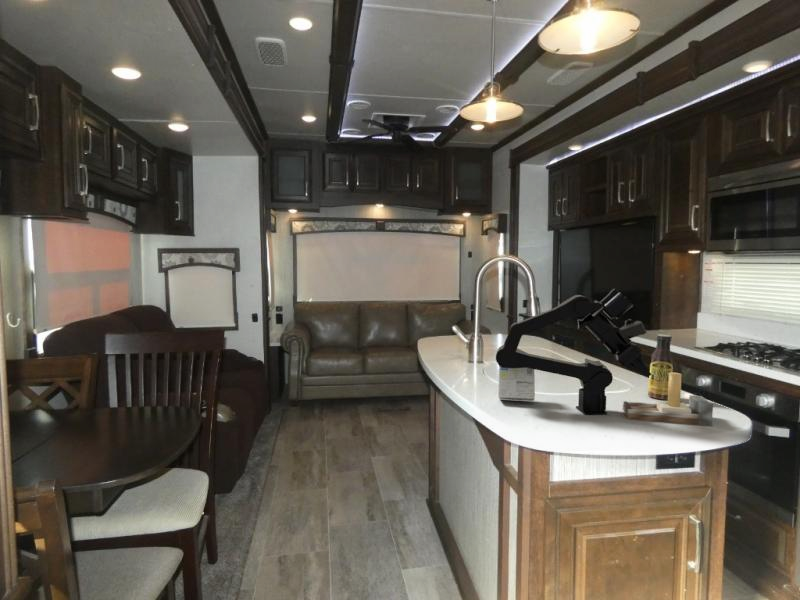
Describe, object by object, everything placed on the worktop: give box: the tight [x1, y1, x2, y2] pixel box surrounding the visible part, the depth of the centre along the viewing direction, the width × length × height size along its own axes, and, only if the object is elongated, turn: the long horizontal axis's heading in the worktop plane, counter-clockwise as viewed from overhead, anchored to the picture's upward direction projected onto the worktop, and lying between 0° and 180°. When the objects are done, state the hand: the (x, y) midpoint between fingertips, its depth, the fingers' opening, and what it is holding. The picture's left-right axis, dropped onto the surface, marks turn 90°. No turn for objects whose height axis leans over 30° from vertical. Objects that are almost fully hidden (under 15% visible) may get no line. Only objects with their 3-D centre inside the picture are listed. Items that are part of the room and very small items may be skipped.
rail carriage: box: [656, 371, 691, 414], centre depth 133 cm, size 7×6×11 cm
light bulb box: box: [498, 365, 536, 402], centre depth 148 cm, size 11×7×11 cm, turn 78°
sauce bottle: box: [647, 334, 674, 400], centre depth 152 cm, size 7×6×20 cm
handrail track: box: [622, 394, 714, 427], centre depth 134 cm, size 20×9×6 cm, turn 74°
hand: (645, 371), depth 135 cm, fingers open, 9 cm apart
